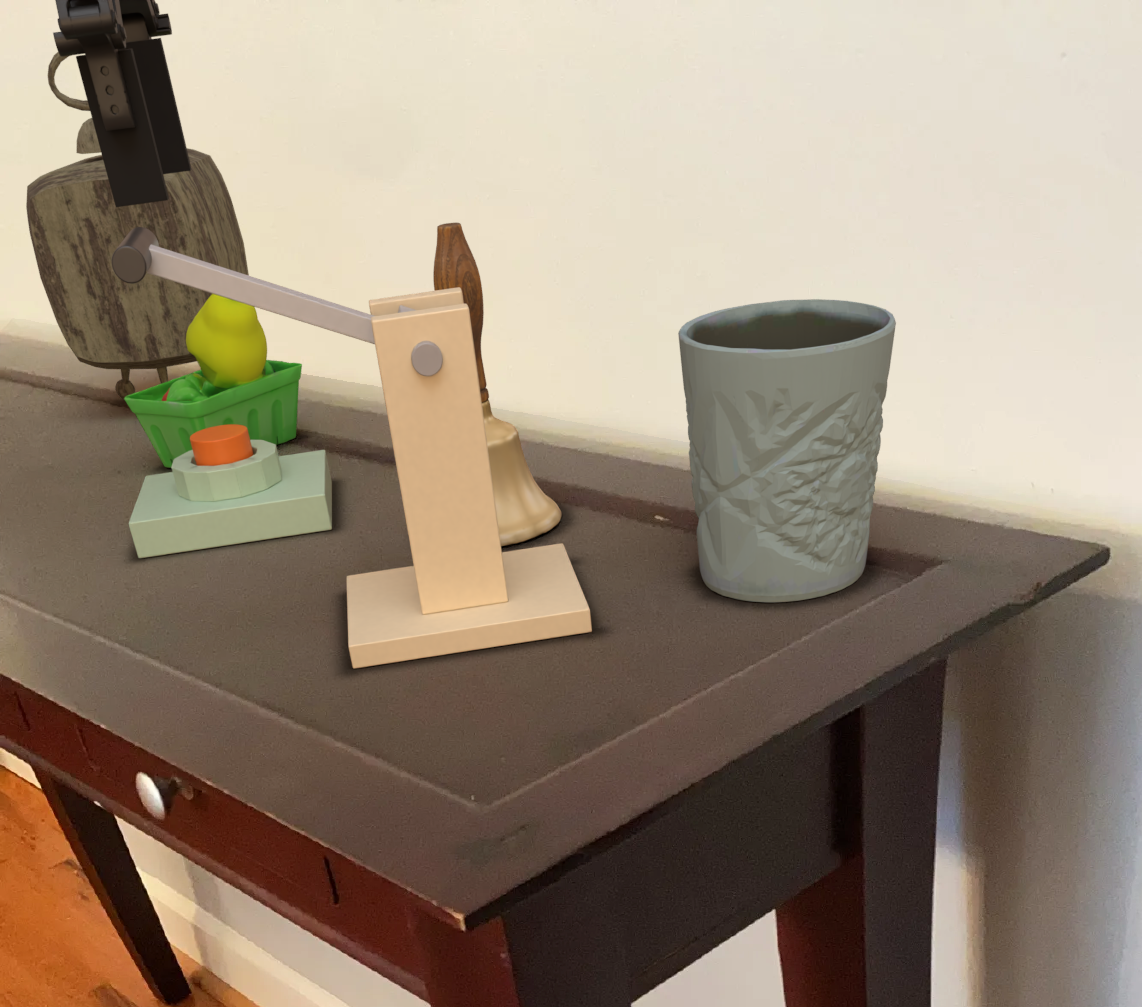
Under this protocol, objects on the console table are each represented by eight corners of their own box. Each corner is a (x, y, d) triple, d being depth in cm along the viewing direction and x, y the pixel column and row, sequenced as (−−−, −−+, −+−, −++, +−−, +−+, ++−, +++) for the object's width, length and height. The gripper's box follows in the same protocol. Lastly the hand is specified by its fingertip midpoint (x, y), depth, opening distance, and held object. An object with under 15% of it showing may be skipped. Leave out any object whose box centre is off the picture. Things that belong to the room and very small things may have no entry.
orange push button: (194, 474, 86) (187, 444, 85) (199, 457, 89) (191, 429, 88) (252, 465, 86) (245, 436, 85) (255, 449, 89) (248, 421, 88)
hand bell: (401, 548, 82) (346, 243, 72) (460, 501, 88) (417, 213, 78) (529, 552, 79) (491, 236, 69) (582, 503, 85) (553, 205, 75)
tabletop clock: (274, 382, 118) (195, 25, 103) (244, 412, 111) (155, 34, 96) (115, 397, 121) (14, 49, 105) (75, 427, 113) (-38, 58, 98)
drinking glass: (687, 546, 77) (675, 309, 70) (872, 529, 76) (879, 288, 69) (694, 616, 69) (681, 358, 62) (899, 599, 68) (911, 334, 61)
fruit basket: (249, 426, 108) (211, 264, 101) (333, 435, 103) (299, 266, 96) (139, 472, 101) (90, 301, 94) (224, 483, 96) (179, 304, 89)
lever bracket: (352, 669, 68) (284, 345, 59) (350, 596, 76) (289, 301, 67) (592, 632, 69) (560, 305, 60) (565, 564, 77) (533, 266, 68)
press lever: (107, 289, 59) (114, 228, 58) (122, 267, 64) (129, 210, 62) (450, 395, 64) (463, 340, 62) (442, 368, 68) (455, 316, 67)
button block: (138, 559, 85) (118, 493, 83) (154, 509, 93) (137, 447, 91) (332, 530, 86) (318, 463, 83) (332, 482, 94) (319, 420, 91)
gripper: (63, -404, 55) (205, 208, 68) (137, -307, 75) (236, 154, 88) (-127, -382, 55) (52, 229, 68) (-2, -290, 74) (118, 170, 87)
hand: (156, 187), depth 78 cm, fingers open, 13 cm apart
